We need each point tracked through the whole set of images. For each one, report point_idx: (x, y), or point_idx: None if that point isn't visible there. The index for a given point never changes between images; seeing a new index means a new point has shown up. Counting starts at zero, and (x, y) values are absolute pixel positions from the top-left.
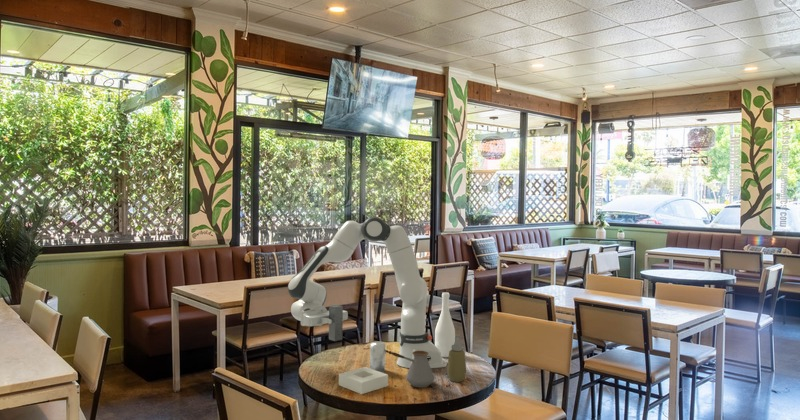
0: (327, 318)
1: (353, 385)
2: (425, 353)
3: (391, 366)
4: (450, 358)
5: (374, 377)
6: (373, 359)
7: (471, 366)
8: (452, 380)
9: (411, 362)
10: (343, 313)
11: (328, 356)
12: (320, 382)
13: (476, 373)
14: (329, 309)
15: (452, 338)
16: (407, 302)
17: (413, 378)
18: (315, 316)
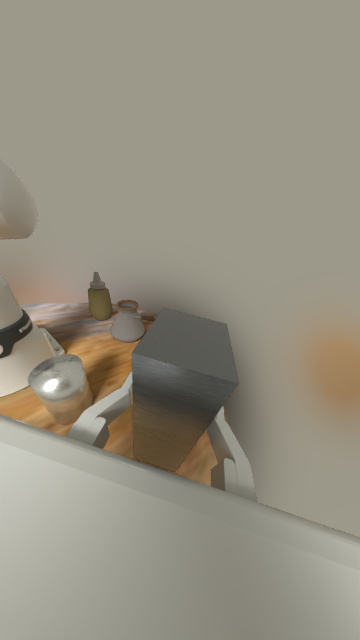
0: (221, 431)
1: None
2: (121, 303)
3: (34, 395)
4: (106, 298)
5: None
6: (86, 391)
7: (41, 313)
8: (109, 317)
9: (52, 353)
10: (14, 419)
11: None
12: (200, 478)
13: (74, 308)
14: (223, 398)
15: None
16: (29, 231)
17: (143, 328)
18: (353, 573)
